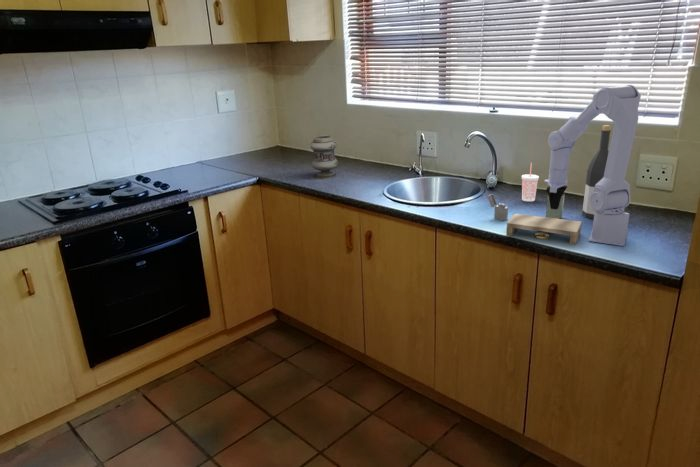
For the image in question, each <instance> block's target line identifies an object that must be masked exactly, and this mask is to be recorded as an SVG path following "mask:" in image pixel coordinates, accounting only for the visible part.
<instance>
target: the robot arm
mask: <svg viewBox="0 0 700 467" xmlns="http://www.w3.org/2000/svg"><path fill="white" fill-rule="evenodd" d="M641 97H642V96H641V93H640V92H639V90H638V89H637V87H636V86H635V85H632V84H626V85H621V86H602V87H600V88H599V89H598V90H597V91H596V92H595V93H594V94H593V95H592V100H591V102H589V103H588V104H587V106H586V107H585V108H584V109H583V110H582V111H581V113H580V114H579V115H574V116H570V117H569V118H568V120H567V121H566V122H565V123H564V125H562V126H560V128H559V130H556V131H555V130H554V131H551V132H550V133H549V134H548V135H549V136H548V137H547V145H548V147H549V148H550V160H549V170H548V179H544V180H543V181H544V183H545V184H547V185H548V186H547V187H546V190H545V191H546V193H547V197H548V196H549V200H550V207H551V209H558V207H559V203H560V199H561V197H562V195H563V194H565V191H566V190H567V188H568V174H569V164H570V157H571V156H570V155H571V154H572V151H573V148H574V146H575V145H576V140H577V139H578V138H579V137H581V135H582V134H584V133H585V132H586V131H587V129H588V124H589V123H590V122H591V121H593V120H594V119H596V117H598V116H599V115H600V114H601V113H602V114H603V115H605V116H606V117H607V118H608V119H609V120H611V121H612V122H613V129H612V134H611V135H612V136H611V140H610V142H609V143H610V144H609V147H608V151H609V153H608V158H607V162H606V167H605V172H604V177H603V178H602V179H601V180H600V181H599V182H598V183H597V184H596V185H595V188H594V191H593V192H592V194H591V196H590V204H591V207H592V208H593V210H594V211H595V213H594V219H593V221H592V222H593V224H592V231H591V233H590V235H589V238H588V241H589V242H592V243H600V244H608V245H613V246H620V247H621V246H622V247H623V246H625V245H626V239H627V238H628V234H629V231H628V228H629V227H628V226H629V220H630V213H629V212H626V211H625V209H626V208H627V207H628V206H629V205H630V203H631V187H632V186H631V184H630V183H629V182H628V181H627V180H625V179H626V175H627V170H628V166H629V162H630V159H631V158H630V157H631V153H632V149H633V144H634V140H635V135H636V132H637V127H638V123H639V122H638V121H639V107H640V102H641Z"/></svg>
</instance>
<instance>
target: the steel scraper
mask: <svg viewBox="0 0 700 467" xmlns="http://www.w3.org/2000/svg"><path fill="white" fill-rule="evenodd" d="M564 204H565V193H563V195H562V197H561V199H560V203H559V207H558V209H551V207H550V200H549V196H548V195H547V200H546V209H545V217H548V218H556V219H562V218H563V214H564Z"/></svg>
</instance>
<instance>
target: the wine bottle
mask: <svg viewBox="0 0 700 467" xmlns="http://www.w3.org/2000/svg"><path fill="white" fill-rule="evenodd" d="M600 132H601V133H600V140H599V149H598V151H597V152H596V153H595V155H594V156H593V158H592V159H591V161H590V163H589V164H588V166H587V170H586V179H585V188H584V195H583V196H584V197H583V204H582V211H581V212H582V216H584V217H585V218H589V219H593V220H594V213H595V211H594V210H593V208H592V207H591V204H590V196H591V194H592V192H593V191H594V188H595V185H596V184H597V183H598V182H599V181H600V180H601V179H602V178H603V177H604V172H605V167H606V162H607V158H608V153H609V145H610V144H609V143H610V135H611V125H609V124H603V125H602V129H601V131H600Z"/></svg>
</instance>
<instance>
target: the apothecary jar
mask: <svg viewBox="0 0 700 467" xmlns="http://www.w3.org/2000/svg"><path fill="white" fill-rule="evenodd" d="M336 147H337V142H336V141H335V140H334V139H333V136H332V135H327V134H325V135H324V134H322V135H317V136H313V141H312V142H311V144H310V148H311V150H312V151H313V160H312V161H311V166H312V167H313V169H314V170H317V171H318V172H317V173H315V174H314V177H315V178H318V179H319V178H320V179H330V178H334V177H336V176H337V173H336V172H333V171H332V170H333V169H335V168H337V167H338V165H339V161H338V160H337V158H336V156H335V149H336Z"/></svg>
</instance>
